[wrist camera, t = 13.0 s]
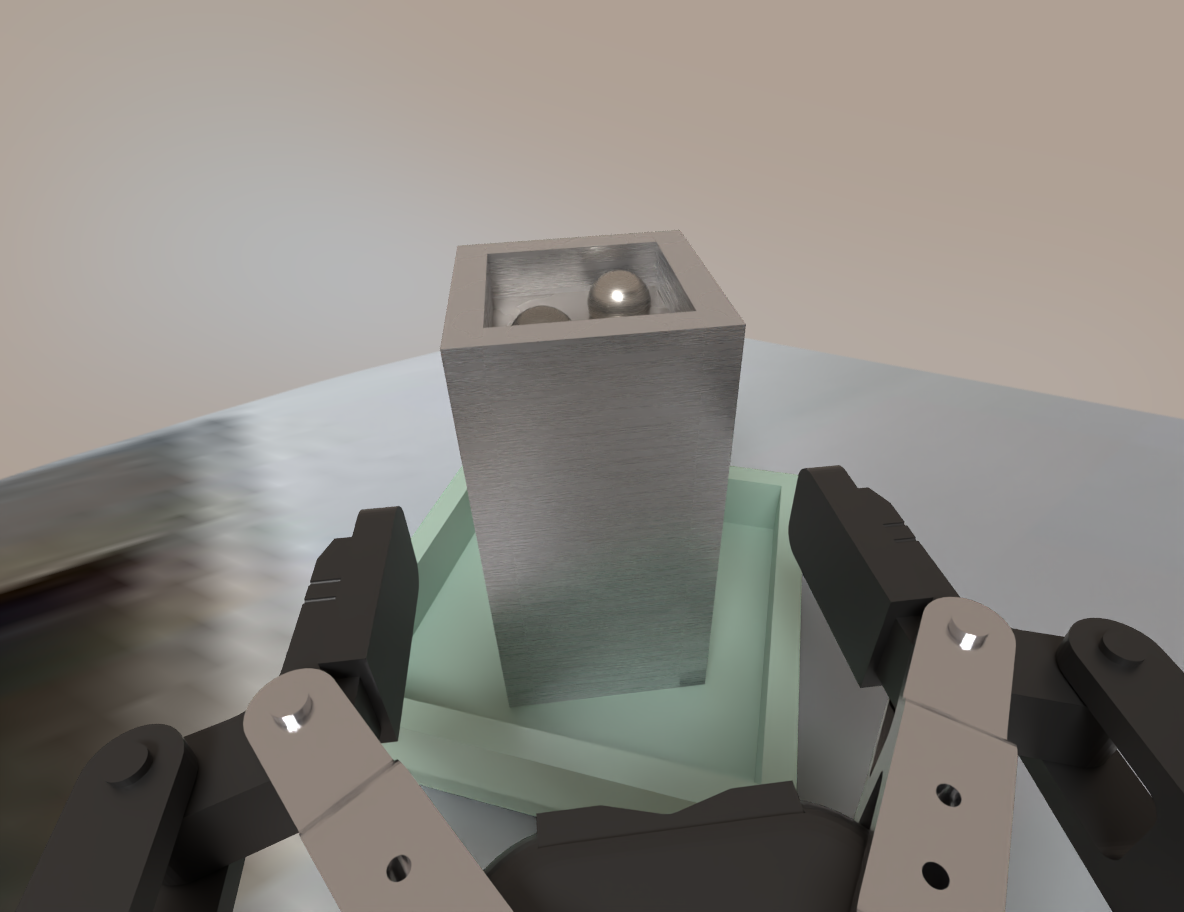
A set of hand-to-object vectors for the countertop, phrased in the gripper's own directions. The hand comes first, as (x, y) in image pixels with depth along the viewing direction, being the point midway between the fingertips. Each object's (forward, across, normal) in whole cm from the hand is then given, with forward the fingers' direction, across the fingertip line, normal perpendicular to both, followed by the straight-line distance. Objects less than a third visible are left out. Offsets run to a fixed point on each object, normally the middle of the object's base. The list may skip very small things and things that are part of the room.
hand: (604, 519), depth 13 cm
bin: (+5, 0, +10) cm, 11 cm away
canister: (+5, 0, +9) cm, 10 cm away
